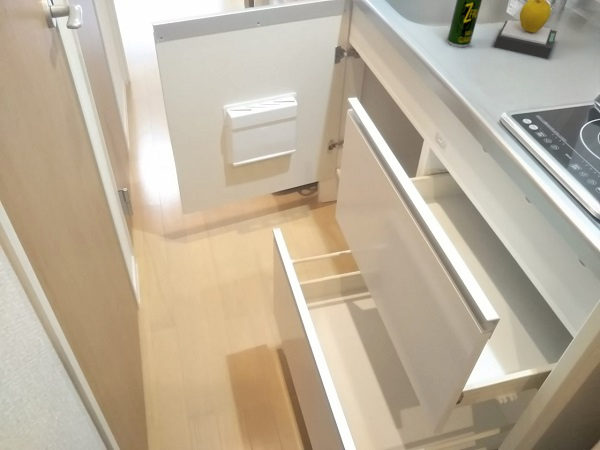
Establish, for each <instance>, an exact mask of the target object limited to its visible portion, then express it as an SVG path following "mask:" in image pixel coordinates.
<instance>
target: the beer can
mask: <svg viewBox="0 0 600 450" xmlns="http://www.w3.org/2000/svg"><path fill="white" fill-rule="evenodd" d="M455 2H456V3H455V6H454V11H453V14H452V19H451V23H450V27H449V32H448V34H447V35H448V36H447V43H448V44H449V45H450V46H452V47H456V48H467V47H468V46H469V45H470V44H471V43H472V39H473V35H474V31H475V28H476V24H477V21H478V17H479V13H480V10H481V6H482V2H483V0H456V1H455Z"/></svg>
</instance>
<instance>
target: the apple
mask: <svg viewBox="0 0 600 450" xmlns="http://www.w3.org/2000/svg"><path fill="white" fill-rule="evenodd" d="M551 8H552V7H551V5H550V3H549V2H548V1H546V0H527V1H526V3H525V4H524V5H522V7H521V10H520V13H519V22H520V23H521V27H522V28H523V29H524V30H525V31H528V32H531V33H535V32H537V31H539V30H540V29H541V28H542V27H544V26H545V25H546V23H547V22H548V21H549V19H550V17H551V11H552V9H551Z"/></svg>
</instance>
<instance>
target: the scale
mask: <svg viewBox="0 0 600 450" xmlns="http://www.w3.org/2000/svg"><path fill="white" fill-rule="evenodd" d="M500 29H501V30H500V32H499V33H498V35H497V37H496V41H495V43H494V47H495V48H499V49H502V50H506V51H507V50H508V51H512V52H516V53H520V54H525V55H529V56H534V57H538V58H544V59H549V56H550V55H551V54H550V53H551V52H552V49H553V46H554V42H555V39H556V37H557V33H558V31H557V30H555V29H554V30H553V29H551V28H550V27H549V28H548V27H544V26H543V27H542V28H541V29H540V30H539V31H537V32H535V33H531V32H528V31H525V30H524V29H523V28H522V27H521V23H520V21H516V20H515V21H514V20H511V19H508V20H505V21H504V24H503V26H502V27H501V28H500Z"/></svg>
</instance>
